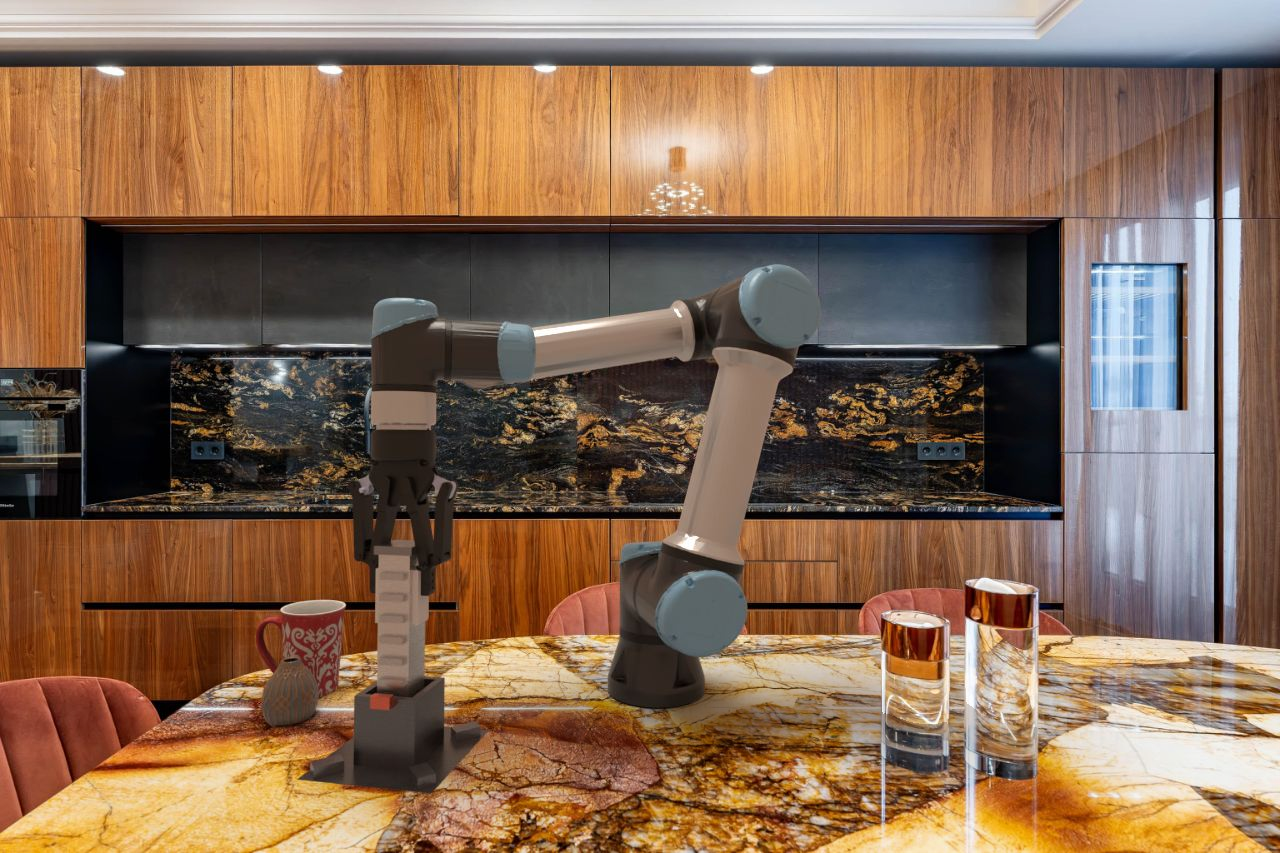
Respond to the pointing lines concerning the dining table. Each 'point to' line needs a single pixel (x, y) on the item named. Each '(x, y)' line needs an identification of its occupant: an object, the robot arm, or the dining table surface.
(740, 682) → the dining table surface
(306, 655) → the mug
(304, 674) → the vase
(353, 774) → the stand base
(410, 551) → the column
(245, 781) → the dining table surface
